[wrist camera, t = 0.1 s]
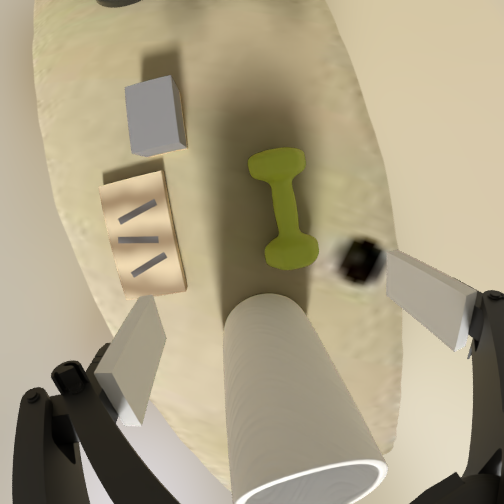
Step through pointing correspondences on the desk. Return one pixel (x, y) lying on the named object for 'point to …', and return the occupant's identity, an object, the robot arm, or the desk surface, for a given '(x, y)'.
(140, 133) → the block
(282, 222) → the dumbbell
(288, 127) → the desk surface
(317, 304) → the desk surface
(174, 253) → the board
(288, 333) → the vase
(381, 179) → the desk surface
